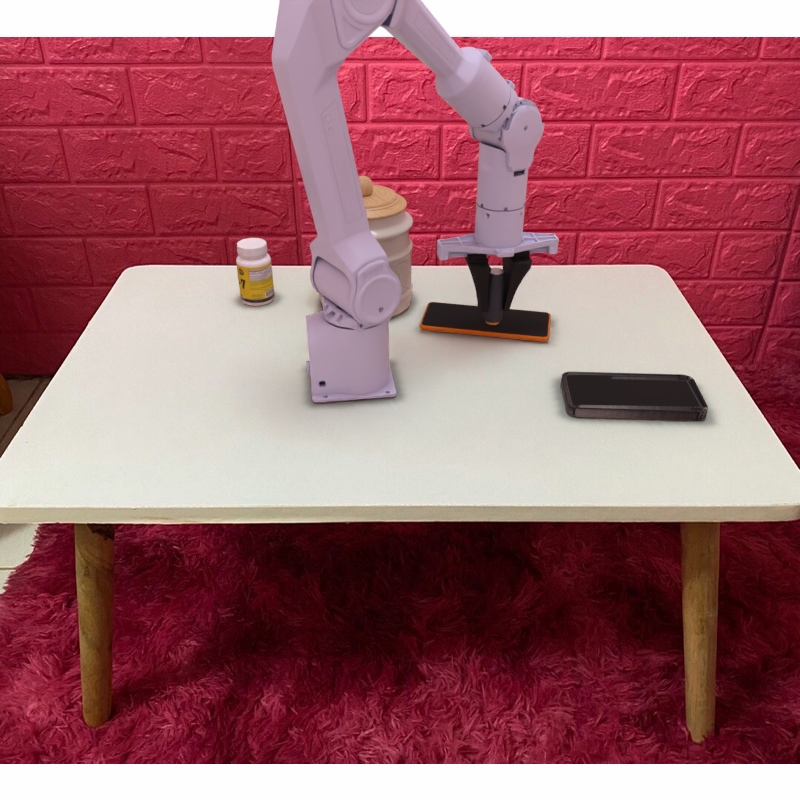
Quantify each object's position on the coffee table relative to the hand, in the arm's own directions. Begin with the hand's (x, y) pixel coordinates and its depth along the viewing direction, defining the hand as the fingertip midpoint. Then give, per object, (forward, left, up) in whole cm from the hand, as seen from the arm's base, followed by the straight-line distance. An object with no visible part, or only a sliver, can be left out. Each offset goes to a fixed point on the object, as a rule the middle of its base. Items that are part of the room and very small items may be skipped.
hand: (493, 308), depth 97 cm
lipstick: (0, 0, -2) cm, 2 cm away
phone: (+12, -17, -4) cm, 21 cm away
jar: (-15, +12, -4) cm, 20 cm away
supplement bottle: (-30, +15, -4) cm, 34 cm away
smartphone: (0, +3, -4) cm, 5 cm away
